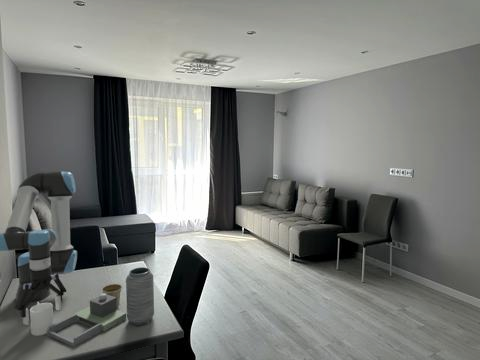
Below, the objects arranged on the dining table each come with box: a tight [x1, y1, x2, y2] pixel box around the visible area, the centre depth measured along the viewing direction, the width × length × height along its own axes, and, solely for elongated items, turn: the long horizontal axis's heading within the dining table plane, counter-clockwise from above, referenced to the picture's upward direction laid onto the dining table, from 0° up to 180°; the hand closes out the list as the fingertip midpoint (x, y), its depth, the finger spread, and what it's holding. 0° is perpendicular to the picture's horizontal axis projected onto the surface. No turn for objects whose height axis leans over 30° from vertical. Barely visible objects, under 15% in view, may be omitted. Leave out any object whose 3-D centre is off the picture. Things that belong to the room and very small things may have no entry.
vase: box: [125, 266, 155, 326], centre depth 144 cm, size 12×12×23 cm
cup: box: [29, 301, 55, 336], centre depth 138 cm, size 8×12×10 cm
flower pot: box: [101, 283, 123, 307], centre depth 159 cm, size 9×9×9 cm
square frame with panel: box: [46, 292, 127, 347], centre depth 140 cm, size 20×25×10 cm
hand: (43, 316), depth 137 cm, fingers open, 13 cm apart
